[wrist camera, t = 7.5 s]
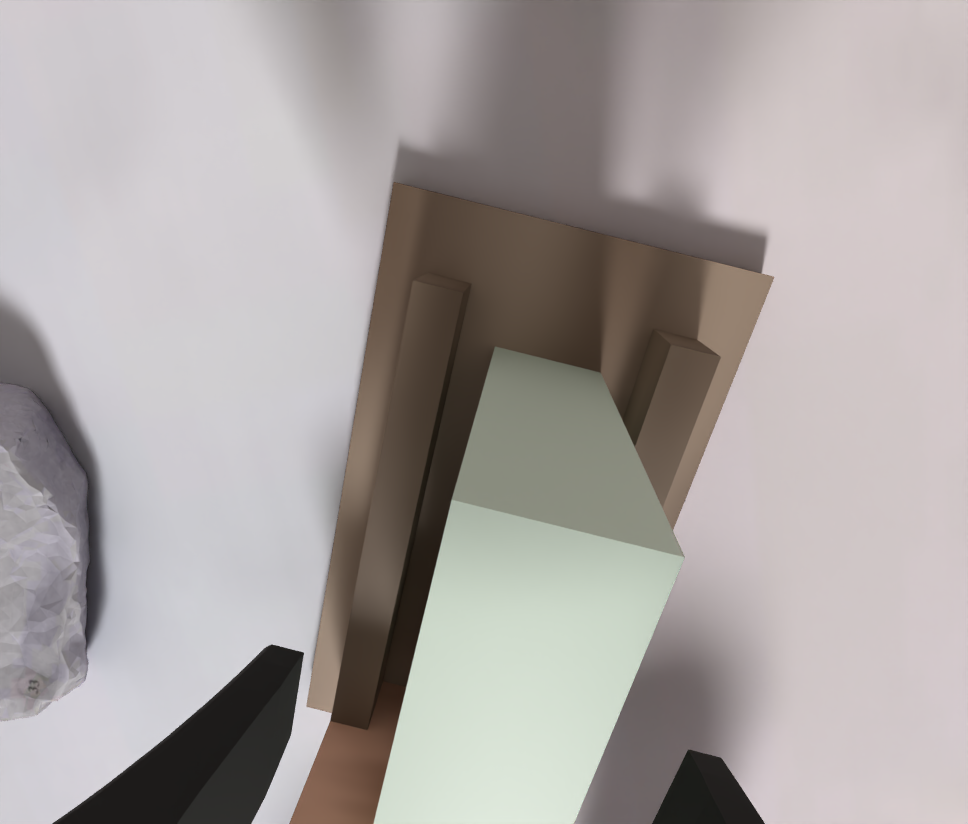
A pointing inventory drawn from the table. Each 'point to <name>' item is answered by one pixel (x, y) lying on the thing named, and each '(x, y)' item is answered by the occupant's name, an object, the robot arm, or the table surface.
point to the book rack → (451, 412)
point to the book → (531, 606)
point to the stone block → (40, 558)
